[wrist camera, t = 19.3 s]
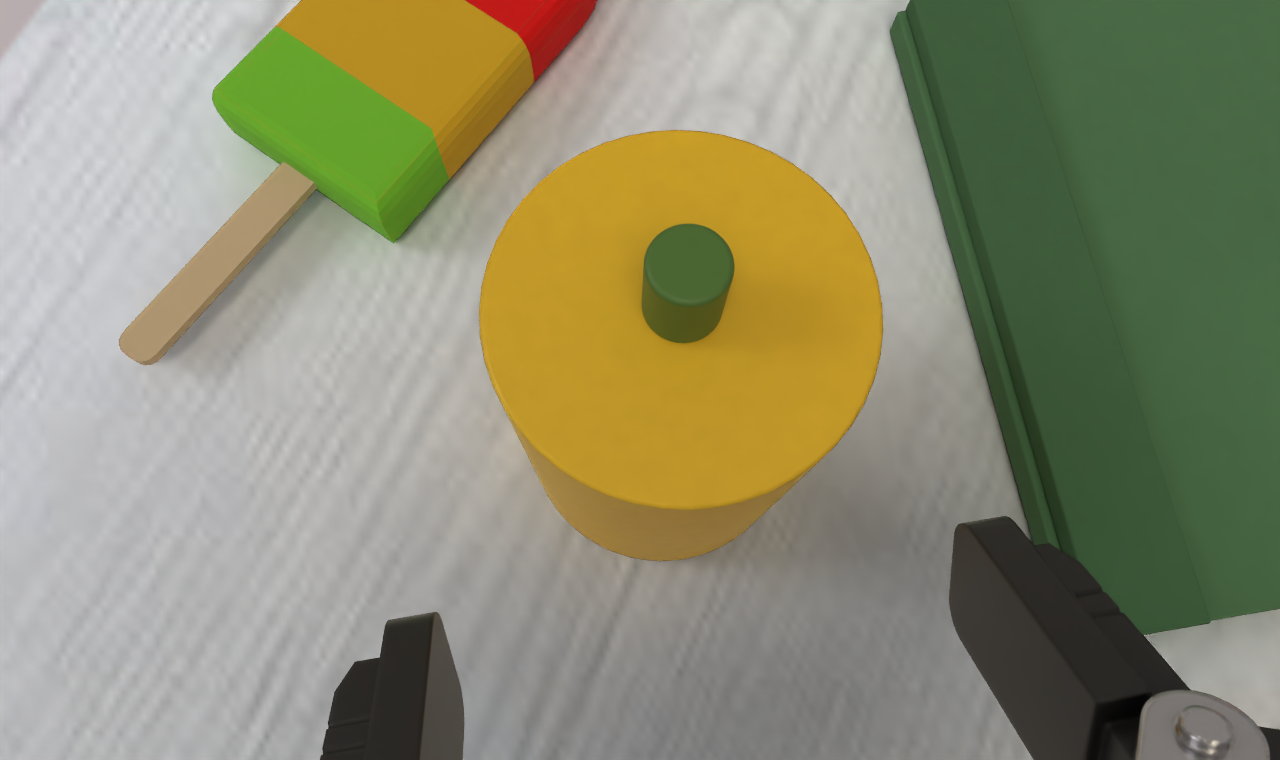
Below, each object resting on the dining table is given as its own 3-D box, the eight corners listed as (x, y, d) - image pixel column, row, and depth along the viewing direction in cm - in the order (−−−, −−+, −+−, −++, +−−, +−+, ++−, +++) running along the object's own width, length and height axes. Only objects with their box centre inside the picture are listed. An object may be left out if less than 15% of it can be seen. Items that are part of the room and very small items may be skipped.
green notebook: (1060, 644, 20) (1092, 644, 18) (888, 31, 24) (904, -5, 23) (1565, 556, 21) (1631, 550, 19) (1309, -23, 25) (1348, -61, 24)
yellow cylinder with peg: (548, 580, 20) (485, 525, 11) (517, 328, 22) (439, 93, 12) (813, 539, 20) (970, 451, 11) (762, 293, 22) (861, 41, 13)
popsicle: (619, -5, 24) (618, -58, 23) (238, 437, 21) (200, 417, 19) (459, -102, 25) (446, -161, 23) (67, 306, 22) (15, 274, 20)
